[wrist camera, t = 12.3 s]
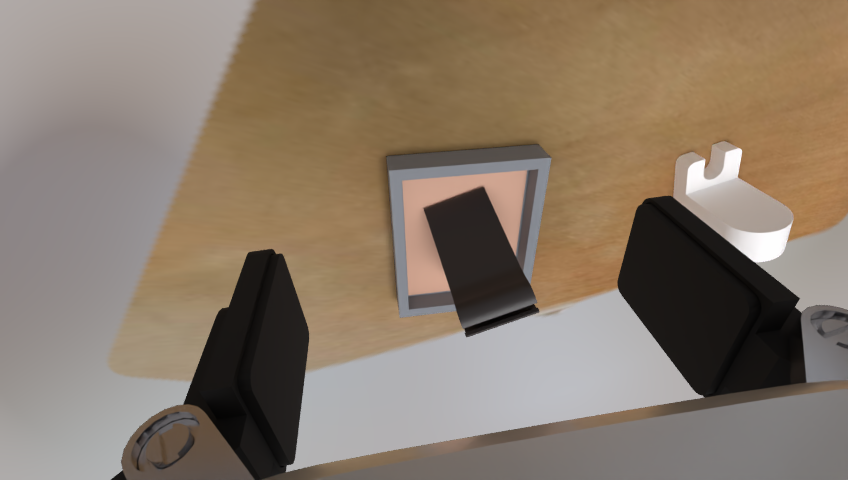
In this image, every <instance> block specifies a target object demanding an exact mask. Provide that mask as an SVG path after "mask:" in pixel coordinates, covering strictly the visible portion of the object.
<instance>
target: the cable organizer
mask: <svg viewBox="0 0 848 480" xmlns="http://www.w3.org/2000/svg"><path fill="white" fill-rule="evenodd" d="M741 155H742V150H741V149H740V148H738V147H736V146H734V145H732V144H730V143H728V142H726V141H722V142H719V143H716V144H713V145H712V150H711V158H710V162H709V164H708V166H707V167H706V168H705V169H704V166H705V159H704V158H703V157H701V156H699V155H697V154H696V153H694V152H690V153H687V154H684V155H681V156H680V157H679V158H678V159H677V160H676V167H675V181H674V195H673V198H675V199H676V200H677V201H678V202H680V203H681V204H682V205H683V206H685V207H686V208H687V209H688V210H690V211H691V212H692V213H693V214H695V215H696V216H697V217H698V218H700V219H701V220H702V221H703V222H705V223H706V224H707V225H708V226H710V227H711V228H712V229H713V230H715V231H716V232H717V233H718V234H720V235H721V236H722V237H723V238H725V239H726V240H727V241H728V242H730V243H731V244H732V245H733V246H735V247H736V248H737V249H738V250H740V251H741V252H742V253H743V254H745V255H746V256H747V257H748V258H750V259H751V260H752V261H753V262H764V261H769V260H772V259H775V258H777V257H779V256H780V255H781V254H782V253H783V251H784V249H785V246H786V243H787V239H788V236H789V232H790V229H791V225H792V222H793V213H792V212H791V210H790V209H789V208H788V207H786V206H785V205H784V204H782V203H780V202H779V201H777V200H775V199H773V198H772V197H770V196H768V195H767V194H765V193H763V192H762V191H760V190H758V189H756V188H755V187H753V186H751V185H750V184H748V183H746V182H745V181H743V180H741V179H739V178H738V172H739V166H740V161H741Z"/></svg>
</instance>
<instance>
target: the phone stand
mask: <svg viewBox="0 0 848 480" xmlns="http://www.w3.org/2000/svg"><path fill="white" fill-rule="evenodd" d="M424 212H425V215H426V218H427V221H428V224H429V227H430V230H431V233H432V236H433V239H434V242H435V245H436V248H437V251H438V254H439V257H440V260H441V264H442V267H443V270H444V273H445V276H446V279H447V282H448V285H449V288H450V291H451V294H452V297H453V301H454V304H455V308H456V311H457V314H458V317H459V320H460V323H461V325H462V328H463V329H465V335H466V337H469V336H472V335H475V334H478V333H481V332H484V331H487V330H489V329H492V328H495V327H498V326H501V325H504V324H507V323H510V322H513V321H515V320H518V319H521V318H524V317H527V316H530V315H533V314H536V313H539V309H538V308H536V307H535V305H534V304H535V303H537V300H536V298H535V295H534V292H533V290H532V288H531V285H530V283H529V281H528V280H527V278H526V276H525V274H524V273H523V271H522V269H521V267H520V264H519V262H518V260H517V258H516V256H515V254H514V251H513V249H512V247H511V245H510V243H509V240H508V238H507V236H506V234H505V232H504V229H503V227H502V225H501V223H500V221H499V219H498V216H497V214H496V212H495V210H494V208H493V205H492V203H491V201H490V199H489V197H488V195H487V192H486V190H485V188H484V187H482V188H479V189H476V190H474V191H471V192H468V193H466V194H463V195H460V196H458V197H455V198H452V199H450V200H447V201H444V202H442V203H439V204H436V205H434V206H431V207H428V208H426V209H424Z"/></svg>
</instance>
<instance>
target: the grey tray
mask: <svg viewBox="0 0 848 480" xmlns="http://www.w3.org/2000/svg"><path fill="white" fill-rule="evenodd" d="M386 157H387V170H388V184H389V197H390V210H391V223H392V236H393V249H394V263H395V276H396V289H397V300H398V308H399V315H400V318H401V317H410V316H418V315H426V314H435V313H443V312H452V311H456V308H455V304H454V301H453V297H452V294H451V291H450V288H449V285H448V282H447V279H446V276H445V273H444V270H443V267H442V264H441V260H440V257H439V254H438V251H437V248H436V245H435V242H434V239H433V236H432V233H431V230H430V227H429V224H428V221H427V218H426V215H425V212H424V209H426V208H428V207H431V206H434V205H436V204H439V203H442V202H444V201H447V200H450V199H452V198H455V197H458V196H460V195H463V194H466V193H468V192H471V191H474V190H476V189H479V188H482V187H484V188H485V190H486V192H487V195H488V197H489V199H490V201H491V203H492V205H493V208H494V210H495V212H496V214H497V216H498V219H499V221H500V223H501V225H502V227H503V229H504V232H505V234H506V236H507V238H508V240H509V243H510V245H511V247H512V249H513V251H514V254H515V256H516V258H517V260H518V262H519V264H520V267H521V269H522V271H523V273H524V274H525V276H526V278H527V280H528V281H529V283H531V277H532V271H533V265H534V259H535V253H536V247H537V241H538V235H539V229H540V223H541V217H542V211H543V205H544V199H545V193H546V187H547V181H548V175H549V169H550V163H551V157H550V156H549V155H548V154H547V153H546V152H545V151H544V150H543V148H542V147H541V146H540V145H539V144H538V145H525V146H512V147H499V148H486V149H473V150H460V151H447V152H434V153H421V154H408V155H395V156H386Z"/></svg>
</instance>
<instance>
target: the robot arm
mask: <svg viewBox="0 0 848 480" xmlns="http://www.w3.org/2000/svg"><path fill="white" fill-rule="evenodd" d="M618 289H619V292H620V293H621V294H622V296H623V297H624V299H625V300H626V301H627V303H628V304H629V305H630V307H631V308H632V309H633V311H634V312H635V313H636V315H637V316H638V317H639V319H640V320H641V321H642V323H643V324H644V325H645V326H646V328H647V329H648V330H649V332H650V333H651V334H652V336H653V337H654V338H655V340H656V341H657V342H658V344H659V345H660V346H661V348H662V349H663V350H664V352H665V353H666V354H667V356H668V357H669V358H670V359H671V361H672V362H673V363H674V365H675V366H676V367H677V369H678V370H679V371H680V373H681V374H682V375H683V377H684V378H685V379H686V381H687V382H688V383H689V385H690V386H691V387H692V388H693V390H694V391H695V392H696V393H698V394H699V395H703V396H704V397H705V398H700V399H694V400H687V401H681V402H675V403H669V404H664V405H657V406H651V407H645V408H639V409H633V410H626V411H621V412H614V413H609V414H603V415H597V416H591V417H585V418H579V419H574V420H567V421H561V422H556V423H549V424H543V425H537V426H532V427H526V428H520V429H514V430H508V431H502V432H496V433H490V434H485V435H479V436H473V437H467V438H462V439H456V440H450V441H444V442H439V443H433V444H428V445H421V446H416V447H410V448H405V449H399V450H393V451H387V452H382V453H377V454H372V455H366V456H361V457H356V458H351V459H346V460H340V461H335V462H331V463H325V464H319V465H315V466H311V467H307V468H303V469H298V470H294V471H290V472H286V466H287V465H291V464H293V463H294V460H295V453H296V445H297V437H298V428H299V420H300V411H301V403H302V395H303V386H304V378H305V369H306V361H307V353H308V344H309V331H308V326H307V323H306V320H305V317H304V314H303V311H302V308H301V305H300V303H299V300H298V297H297V294H296V291H295V288H294V285H293V282H292V279H291V276H290V273H289V270H288V267H287V264H286V262H285V259H284V256H283V255H282V254H276V253H275V251H274V250H273V249H268V250H261V251H253V252H249V253H248V254H247V257H246V260H245V262H244V265H243V268H242V271H241V274H240V277H239V279H238V282H237V285H236V288H235V291H234V294H233V297H232V299H231V302H230V305H229V307H228V308H222V309H221V310H220V311H219V312H218V314H217V316H216V319H215V321H214V324H213V327H212V329H211V332H210V335H209V337H208V340H207V343H206V345H205V348H204V351H203V353H202V356H201V359H200V361H199V364H198V367H197V369H196V372H195V375H194V377H193V380H192V383H191V385H190V388H189V391H188V393H187V396H186V399H185V401H184V404H183V405H176V406H174V407H170V408H167V409H164V410H163V411H161V412H159V413H158V414H156V415H154V416H152V417H151V418H149V419H148V420H147V421H146V422H145V423H143V424H142V425H141V426H140V427H139V428H138V429H137V430H136V432H135V433H134V434H133V435H132V436H131V437H130V440H129V441H128V443H127V445H126V447H125V448H124V451H123V456H122V460H121V464H122V469H123V470H122V471H121V472H120V473H119V474H117V475H116V476H115V477H114V478H112V479H111V480H848V310H846V309H843V308H839V307H834V306H828V305H816V306H812V307H808V308H806V309H805V310H804V311H803V312H802V313H801V312H800V311H799V310H797V309H796V308H795V306H796V304H797V302H798V301H799V299H800V298H799V297H797V296H796V295H795V294H793V293H792V292H791V291H790V290H789V289H787V288H786V287H785V286H784V285H782V284H781V283H780V282H779V281H777V280H776V279H775V278H774V277H772V276H771V275H770V274H768V273H767V272H766V271H765V270H763V269H762V268H761V267H760V266H758V265H757V264H756V263H755V262H753V261H752V260H751V259H750V258H748V257H747V256H746V255H745V254H743V253H742V252H741V251H740V250H738V249H737V248H736V247H735V246H733V245H732V244H731V243H730V242H728V241H727V240H726V239H725V238H723V237H722V236H721V235H720V234H718V233H717V232H716V231H715V230H713V229H712V228H711V227H710V226H708V225H707V224H706V223H705V222H703V221H702V220H701V219H700V218H698V217H697V216H696V215H695V214H693V213H692V212H691V211H690V210H688V209H687V208H686V207H685V206H683V205H682V204H681V203H680V202H678V201H677V200H676V199H675V198H673V197H671V196H662V197H654V198H648V199H646V200H644V202H643V203H642V205H639V206H638V208H637V210H636V213H635V217H634V221H633V225H632V229H631V232H630V236H629V240H628V244H627V247H626V251H625V255H624V259H623V262H622V266H621V270H620V274H619V278H618Z"/></svg>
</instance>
